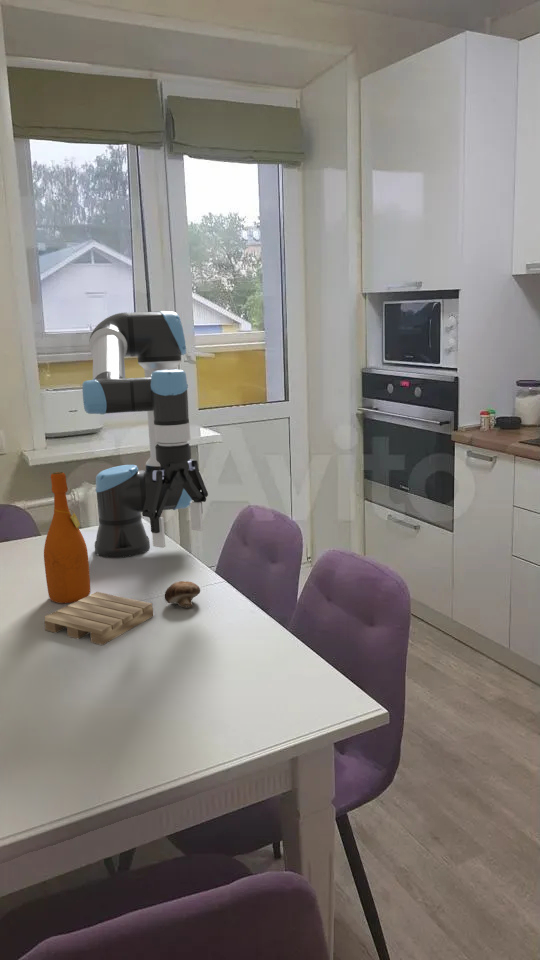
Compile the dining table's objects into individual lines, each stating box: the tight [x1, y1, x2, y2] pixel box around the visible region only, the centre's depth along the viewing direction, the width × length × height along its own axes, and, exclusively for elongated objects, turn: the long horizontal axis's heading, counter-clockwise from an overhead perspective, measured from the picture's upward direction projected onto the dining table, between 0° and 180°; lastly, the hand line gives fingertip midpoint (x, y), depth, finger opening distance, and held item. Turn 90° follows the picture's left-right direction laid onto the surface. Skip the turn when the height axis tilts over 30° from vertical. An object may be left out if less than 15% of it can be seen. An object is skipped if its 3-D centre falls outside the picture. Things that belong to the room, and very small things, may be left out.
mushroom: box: [164, 580, 201, 608], centre depth 166 cm, size 8×8×6 cm
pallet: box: [44, 591, 154, 646], centre depth 159 cm, size 16×16×3 cm
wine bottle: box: [43, 471, 91, 604], centre depth 171 cm, size 10×10×30 cm
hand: (178, 538), depth 164 cm, fingers open, 13 cm apart
